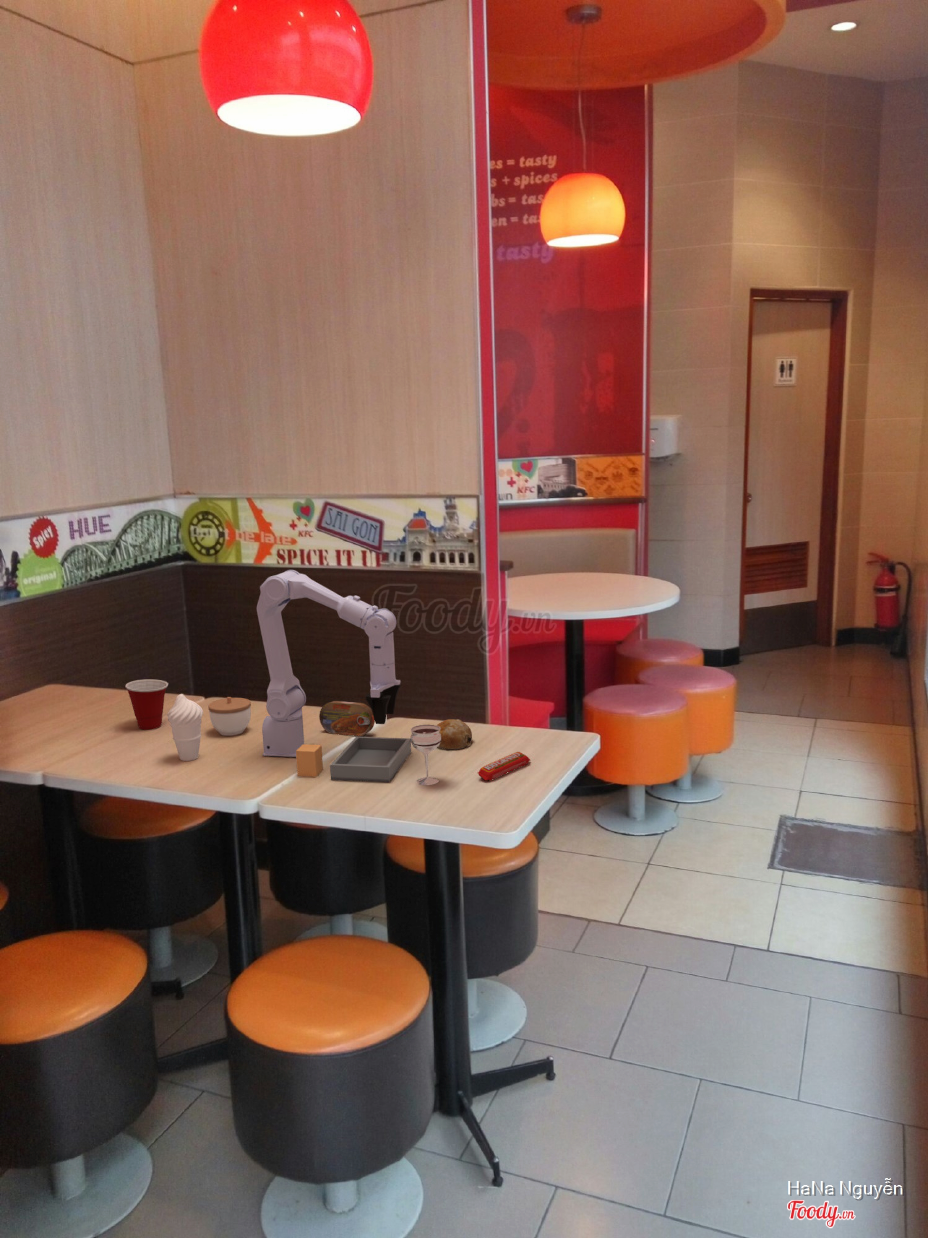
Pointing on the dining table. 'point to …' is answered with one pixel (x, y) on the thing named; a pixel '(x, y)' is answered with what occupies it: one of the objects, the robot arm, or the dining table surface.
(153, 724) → the plastic cup
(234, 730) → the lidded jar
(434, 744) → the wineglass
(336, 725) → the tin
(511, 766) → the candy bar
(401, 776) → the dining table surface
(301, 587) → the robot arm
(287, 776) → the dining table surface
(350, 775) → the serving tray
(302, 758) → the orange block
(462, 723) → the bread roll
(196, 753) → the soft serve ice cream cone
